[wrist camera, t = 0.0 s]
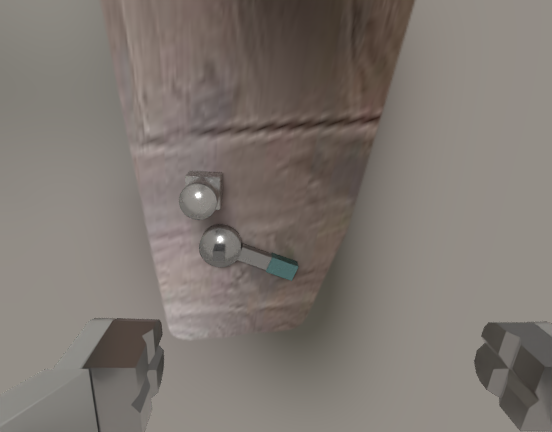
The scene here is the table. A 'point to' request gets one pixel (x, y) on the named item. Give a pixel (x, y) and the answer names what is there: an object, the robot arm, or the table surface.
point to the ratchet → (241, 252)
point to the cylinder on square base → (201, 194)
